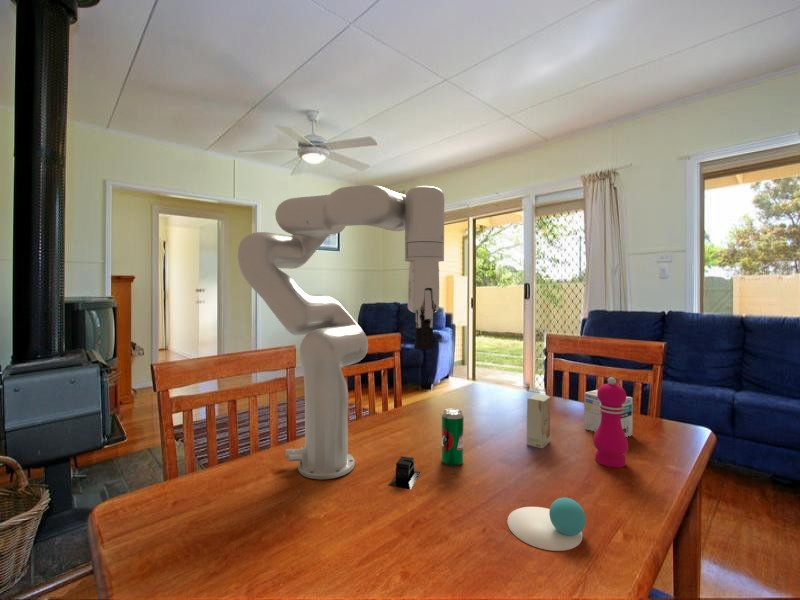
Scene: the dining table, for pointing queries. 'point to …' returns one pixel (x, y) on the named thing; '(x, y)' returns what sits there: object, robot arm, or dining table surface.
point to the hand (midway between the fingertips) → (423, 348)
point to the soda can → (452, 437)
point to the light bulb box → (594, 414)
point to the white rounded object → (540, 530)
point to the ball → (567, 516)
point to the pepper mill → (611, 426)
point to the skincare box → (538, 420)
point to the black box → (405, 473)
